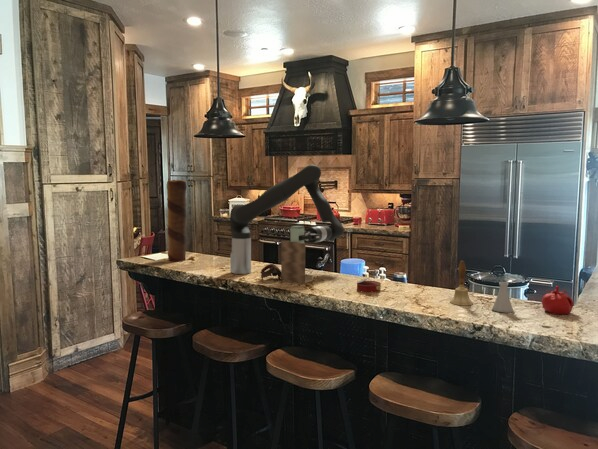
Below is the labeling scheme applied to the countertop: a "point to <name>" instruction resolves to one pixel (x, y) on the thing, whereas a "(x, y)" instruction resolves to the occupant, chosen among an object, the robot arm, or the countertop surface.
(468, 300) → the hand bell
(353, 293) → the countertop surface
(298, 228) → the grey-green cylinder
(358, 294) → the countertop surface
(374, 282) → the canned food
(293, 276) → the brown upright block
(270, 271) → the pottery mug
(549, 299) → the pomegranate
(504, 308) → the flask
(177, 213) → the wafer roll
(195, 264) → the countertop surface
